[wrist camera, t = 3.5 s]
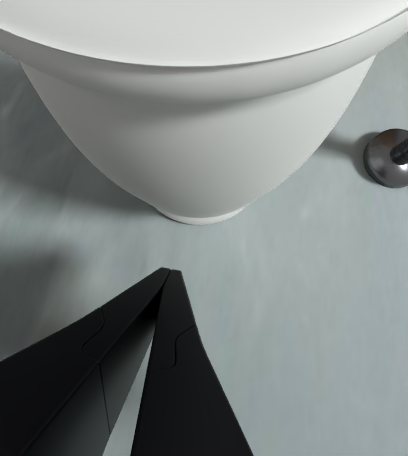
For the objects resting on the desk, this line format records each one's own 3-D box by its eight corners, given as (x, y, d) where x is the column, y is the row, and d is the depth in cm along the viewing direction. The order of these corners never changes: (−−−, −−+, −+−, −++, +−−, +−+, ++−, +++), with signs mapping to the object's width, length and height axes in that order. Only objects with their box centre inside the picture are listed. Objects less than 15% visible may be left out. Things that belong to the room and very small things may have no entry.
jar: (132, 253, 18) (-204, 118, 3) (116, 112, 20) (-138, -387, 5) (291, 227, 18) (674, -3, 3) (260, 91, 20) (418, -427, 5)
